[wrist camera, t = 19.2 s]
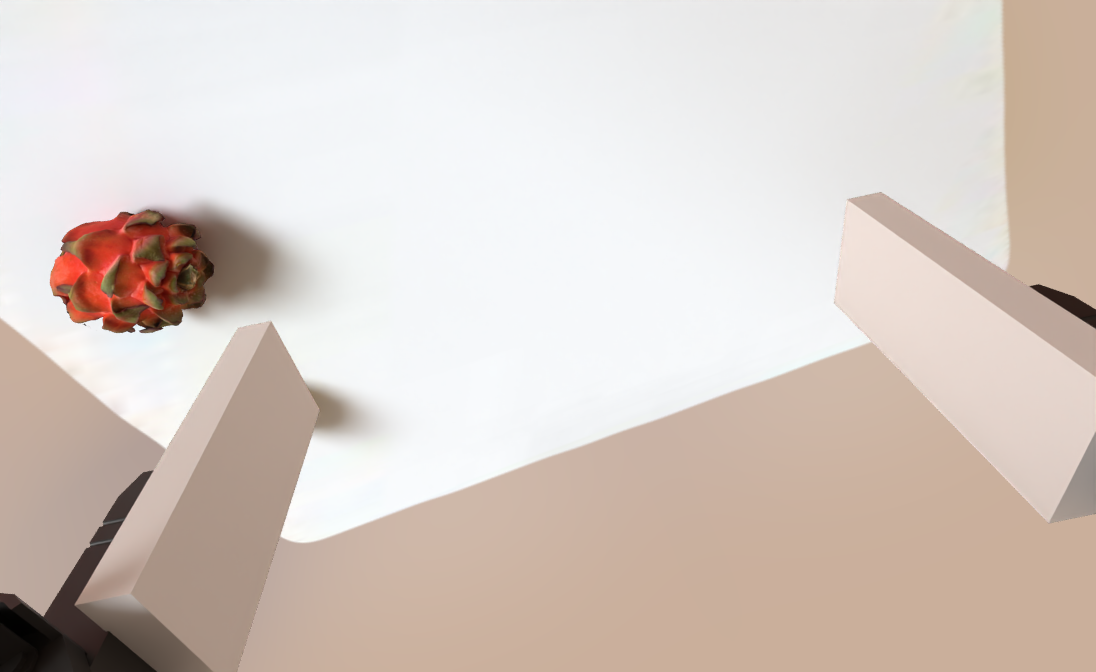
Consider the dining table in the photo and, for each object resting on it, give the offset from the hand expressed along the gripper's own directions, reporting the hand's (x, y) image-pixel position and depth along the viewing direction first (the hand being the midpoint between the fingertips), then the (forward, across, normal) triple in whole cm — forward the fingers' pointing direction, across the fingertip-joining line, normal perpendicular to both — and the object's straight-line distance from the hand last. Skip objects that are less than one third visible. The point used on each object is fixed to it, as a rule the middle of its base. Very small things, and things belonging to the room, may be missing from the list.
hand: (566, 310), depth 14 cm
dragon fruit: (+32, -29, -8) cm, 44 cm away
